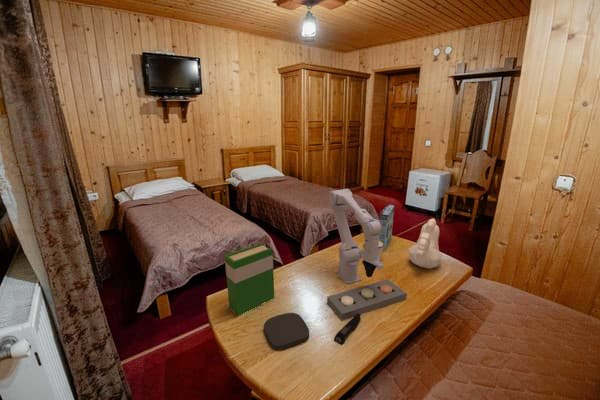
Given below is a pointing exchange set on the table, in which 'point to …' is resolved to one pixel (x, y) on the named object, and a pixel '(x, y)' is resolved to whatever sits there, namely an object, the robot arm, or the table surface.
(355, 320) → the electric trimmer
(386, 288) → the terracotta button
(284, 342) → the media streaming box
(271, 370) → the table surface
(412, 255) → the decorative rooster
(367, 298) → the sage button
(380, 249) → the teacup with lid
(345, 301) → the cream button
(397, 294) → the button panel
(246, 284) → the hardback book
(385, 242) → the gum box
